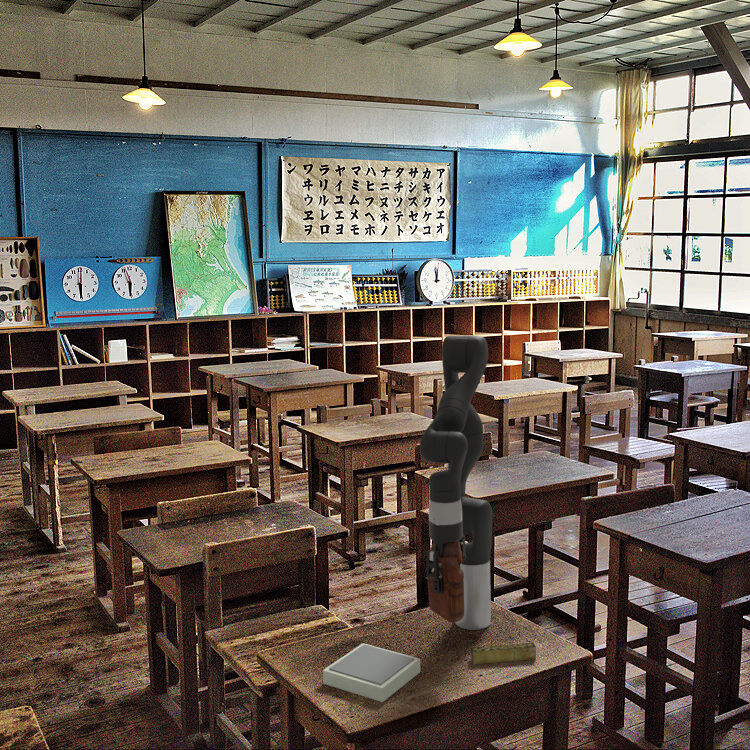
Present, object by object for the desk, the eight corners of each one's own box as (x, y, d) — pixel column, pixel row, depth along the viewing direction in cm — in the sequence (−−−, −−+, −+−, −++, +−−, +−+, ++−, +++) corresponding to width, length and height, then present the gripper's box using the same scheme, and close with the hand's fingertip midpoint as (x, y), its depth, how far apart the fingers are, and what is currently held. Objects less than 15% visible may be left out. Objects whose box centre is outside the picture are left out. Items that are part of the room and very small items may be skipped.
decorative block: (533, 655, 209) (533, 641, 209) (536, 660, 207) (536, 646, 206) (470, 660, 207) (470, 646, 207) (472, 665, 205) (472, 651, 205)
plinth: (363, 655, 211) (362, 642, 210) (420, 671, 202) (420, 657, 201) (323, 683, 197) (322, 668, 197) (382, 702, 189) (382, 686, 188)
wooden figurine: (473, 619, 197) (473, 543, 194) (449, 625, 194) (449, 548, 191) (445, 600, 208) (444, 528, 205) (422, 606, 205) (421, 532, 202)
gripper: (446, 507, 205) (447, 573, 208) (415, 524, 193) (417, 594, 196) (474, 511, 201) (476, 579, 203) (444, 529, 189) (446, 601, 192)
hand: (447, 586), depth 200 cm, fingers closed on wooden figurine, 8 cm apart
